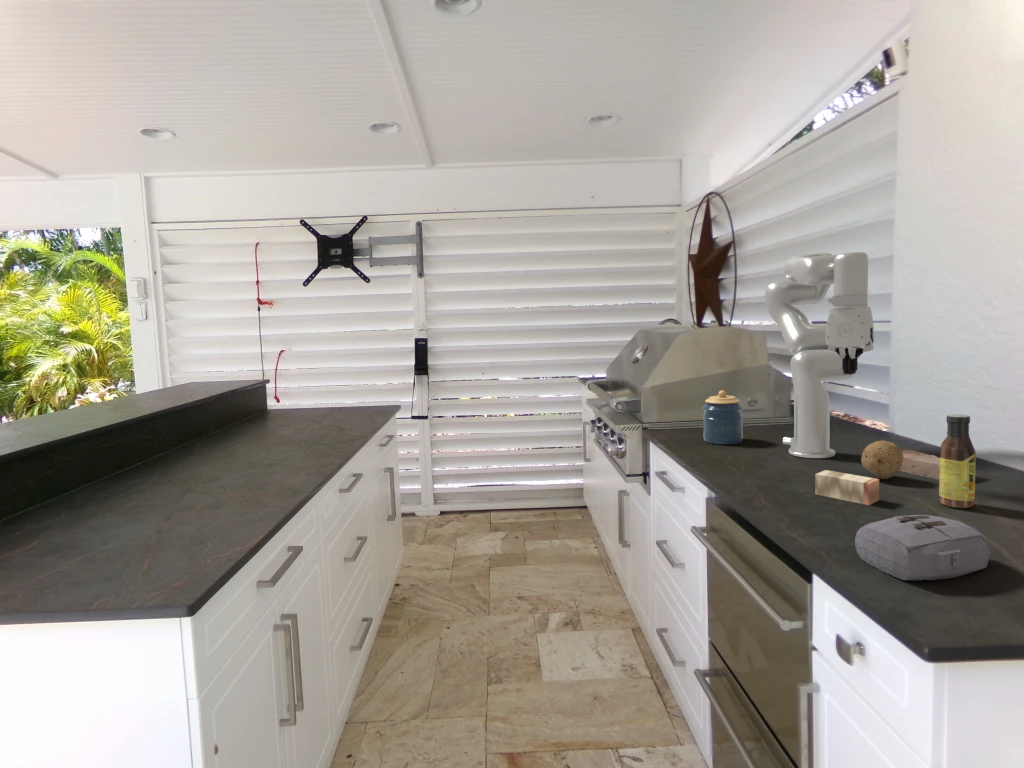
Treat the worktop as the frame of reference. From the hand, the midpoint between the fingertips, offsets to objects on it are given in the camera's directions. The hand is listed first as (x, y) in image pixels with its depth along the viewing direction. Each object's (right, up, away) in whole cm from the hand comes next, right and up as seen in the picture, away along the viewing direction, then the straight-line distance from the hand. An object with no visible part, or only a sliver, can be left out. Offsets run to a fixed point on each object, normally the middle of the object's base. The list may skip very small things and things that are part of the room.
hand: (849, 373), depth 150 cm
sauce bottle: (+10, -29, -23) cm, 39 cm away
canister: (-14, -23, +51) cm, 57 cm away
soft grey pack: (-16, -34, -49) cm, 62 cm away
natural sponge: (+7, -27, -1) cm, 28 cm away
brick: (+22, -26, +2) cm, 34 cm away
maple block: (-12, -27, -9) cm, 31 cm away
